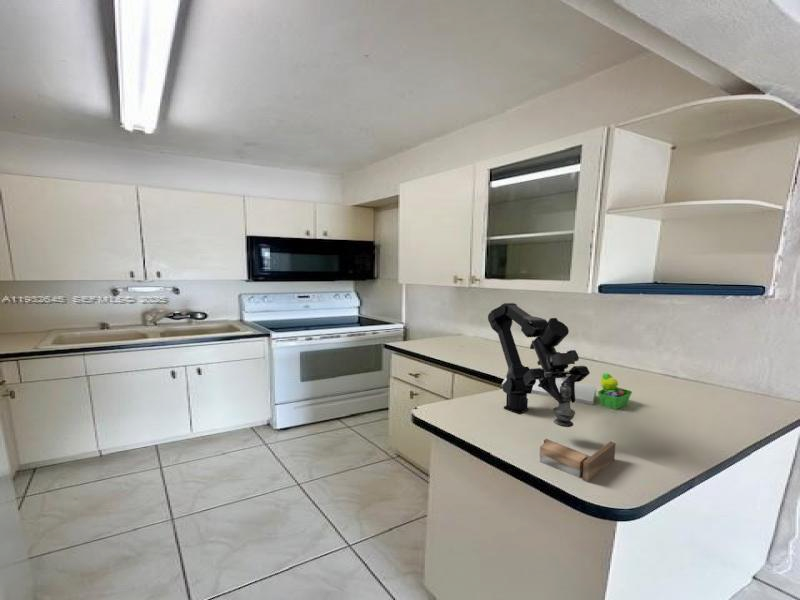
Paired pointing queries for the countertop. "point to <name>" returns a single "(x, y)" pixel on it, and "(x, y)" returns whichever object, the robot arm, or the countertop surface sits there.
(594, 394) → the decorative molding
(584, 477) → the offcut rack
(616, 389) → the fruit basket
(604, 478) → the countertop surface
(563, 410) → the grey rounded upright piece
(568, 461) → the teak offcut
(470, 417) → the countertop surface
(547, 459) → the grey mdf offcut
